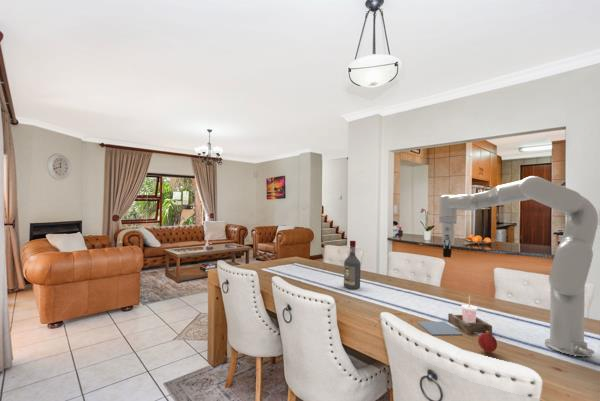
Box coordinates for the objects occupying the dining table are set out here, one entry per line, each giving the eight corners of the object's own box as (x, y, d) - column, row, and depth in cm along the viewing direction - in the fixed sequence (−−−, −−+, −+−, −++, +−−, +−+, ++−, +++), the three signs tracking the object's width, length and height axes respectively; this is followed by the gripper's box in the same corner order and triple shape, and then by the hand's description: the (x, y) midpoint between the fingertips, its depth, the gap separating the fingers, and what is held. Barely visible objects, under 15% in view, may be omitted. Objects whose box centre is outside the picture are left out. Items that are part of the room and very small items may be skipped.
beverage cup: (457, 325, 130) (458, 294, 130) (467, 323, 132) (468, 292, 132) (470, 331, 124) (470, 298, 124) (480, 329, 126) (480, 297, 126)
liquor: (350, 284, 194) (351, 239, 194) (361, 287, 187) (362, 241, 187) (341, 286, 188) (342, 240, 188) (352, 290, 181) (353, 242, 181)
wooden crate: (492, 334, 121) (492, 325, 121) (467, 334, 121) (467, 325, 121) (470, 321, 135) (470, 313, 135) (448, 321, 135) (448, 313, 135)
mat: (462, 335, 120) (462, 334, 120) (432, 335, 119) (432, 334, 119) (444, 322, 133) (444, 321, 133) (417, 322, 132) (417, 321, 132)
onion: (479, 347, 110) (479, 326, 110) (497, 352, 106) (497, 330, 106) (476, 353, 105) (477, 330, 105) (496, 358, 101) (496, 335, 102)
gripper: (456, 221, 131) (455, 259, 131) (456, 220, 146) (456, 254, 146) (438, 220, 135) (437, 257, 134) (440, 219, 150) (439, 252, 149)
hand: (447, 255), depth 140 cm, fingers open, 9 cm apart
